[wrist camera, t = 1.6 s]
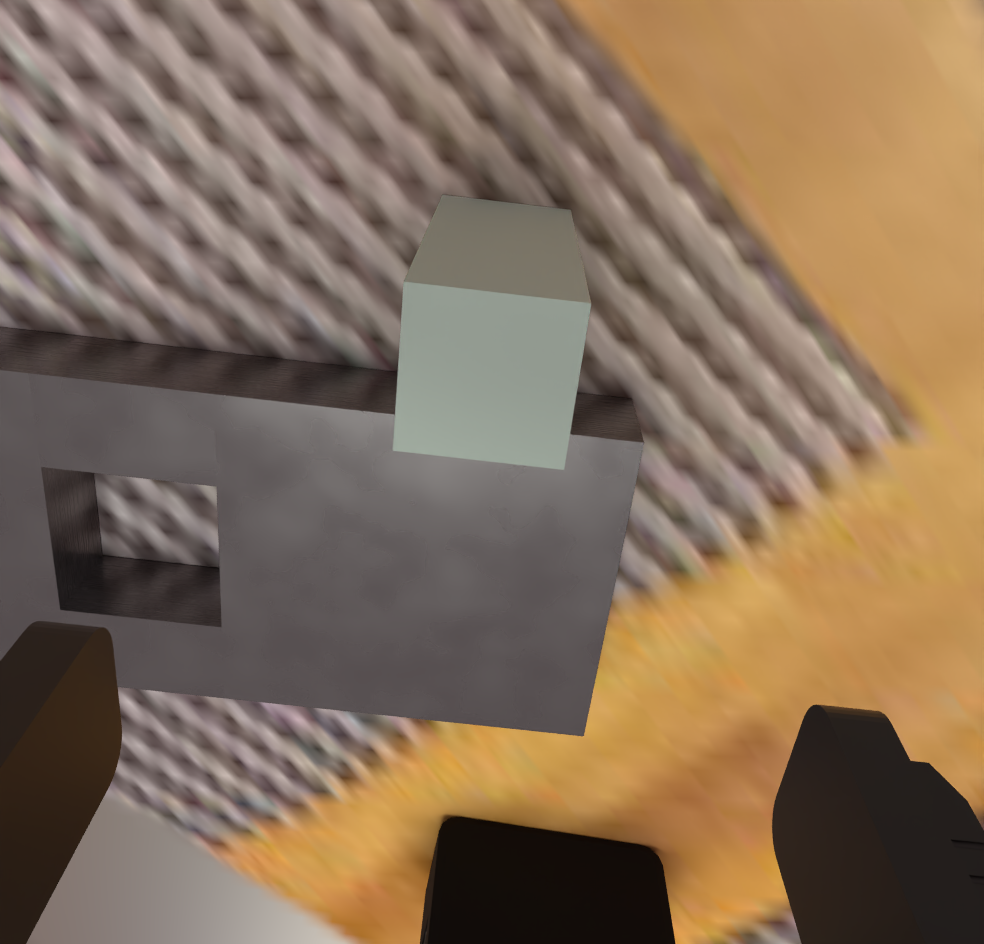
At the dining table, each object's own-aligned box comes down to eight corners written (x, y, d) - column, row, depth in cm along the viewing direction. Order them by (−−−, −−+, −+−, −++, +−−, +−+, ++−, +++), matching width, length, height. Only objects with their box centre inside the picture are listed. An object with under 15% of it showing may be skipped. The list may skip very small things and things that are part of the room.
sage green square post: (570, 209, 28) (591, 303, 19) (552, 332, 30) (563, 470, 21) (442, 194, 28) (403, 281, 19) (432, 318, 30) (392, 450, 21)
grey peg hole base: (631, 398, 31) (643, 442, 28) (578, 673, 36) (583, 736, 33) (-17, 324, 30) (-79, 361, 27) (28, 614, 36) (-19, 672, 33)
